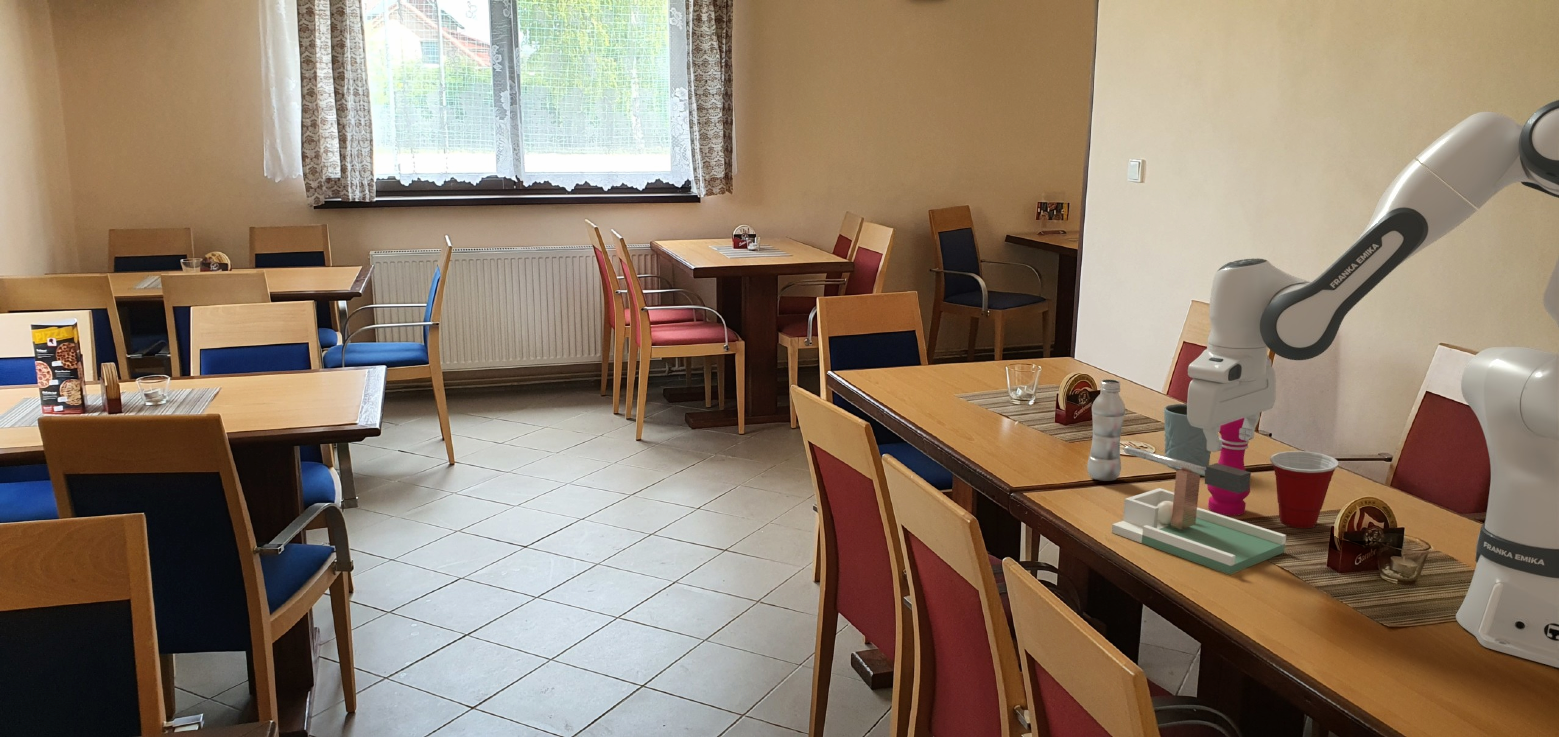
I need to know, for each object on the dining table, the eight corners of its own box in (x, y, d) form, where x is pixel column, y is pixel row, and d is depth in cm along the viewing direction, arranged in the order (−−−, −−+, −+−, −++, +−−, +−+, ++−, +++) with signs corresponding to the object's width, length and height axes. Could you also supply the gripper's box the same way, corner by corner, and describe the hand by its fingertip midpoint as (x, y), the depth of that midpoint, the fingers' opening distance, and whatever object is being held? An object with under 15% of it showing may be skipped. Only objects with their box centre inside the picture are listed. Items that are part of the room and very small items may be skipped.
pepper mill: (1251, 518, 191) (1263, 410, 187) (1209, 514, 193) (1220, 407, 189) (1243, 504, 198) (1254, 400, 194) (1201, 501, 200) (1212, 398, 195)
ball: (1167, 494, 186) (1161, 515, 187) (1153, 499, 183) (1148, 520, 185) (1187, 504, 183) (1181, 525, 184) (1173, 509, 180) (1167, 530, 182)
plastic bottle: (1124, 477, 213) (1132, 380, 209) (1114, 486, 208) (1122, 386, 203) (1091, 472, 217) (1099, 376, 212) (1081, 480, 211) (1089, 382, 207)
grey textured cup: (1219, 473, 217) (1225, 416, 214) (1169, 472, 217) (1174, 415, 214) (1200, 458, 227) (1206, 403, 224) (1152, 457, 227) (1157, 403, 224)
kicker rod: (1244, 540, 175) (1252, 471, 172) (1231, 545, 172) (1238, 476, 170) (1127, 502, 193) (1132, 439, 190) (1113, 506, 190) (1118, 442, 188)
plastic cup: (1251, 513, 194) (1258, 449, 191) (1307, 511, 195) (1315, 448, 193) (1284, 534, 184) (1292, 468, 181) (1343, 533, 185) (1352, 467, 182)
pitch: (1284, 552, 176) (1287, 520, 175) (1229, 574, 167) (1233, 541, 165) (1166, 513, 193) (1169, 484, 192) (1111, 532, 184) (1114, 502, 183)
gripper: (1252, 349, 178) (1246, 429, 181) (1181, 367, 166) (1176, 453, 169) (1289, 354, 173) (1282, 436, 176) (1219, 374, 161) (1213, 462, 164)
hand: (1230, 445), depth 172 cm, fingers open, 8 cm apart
